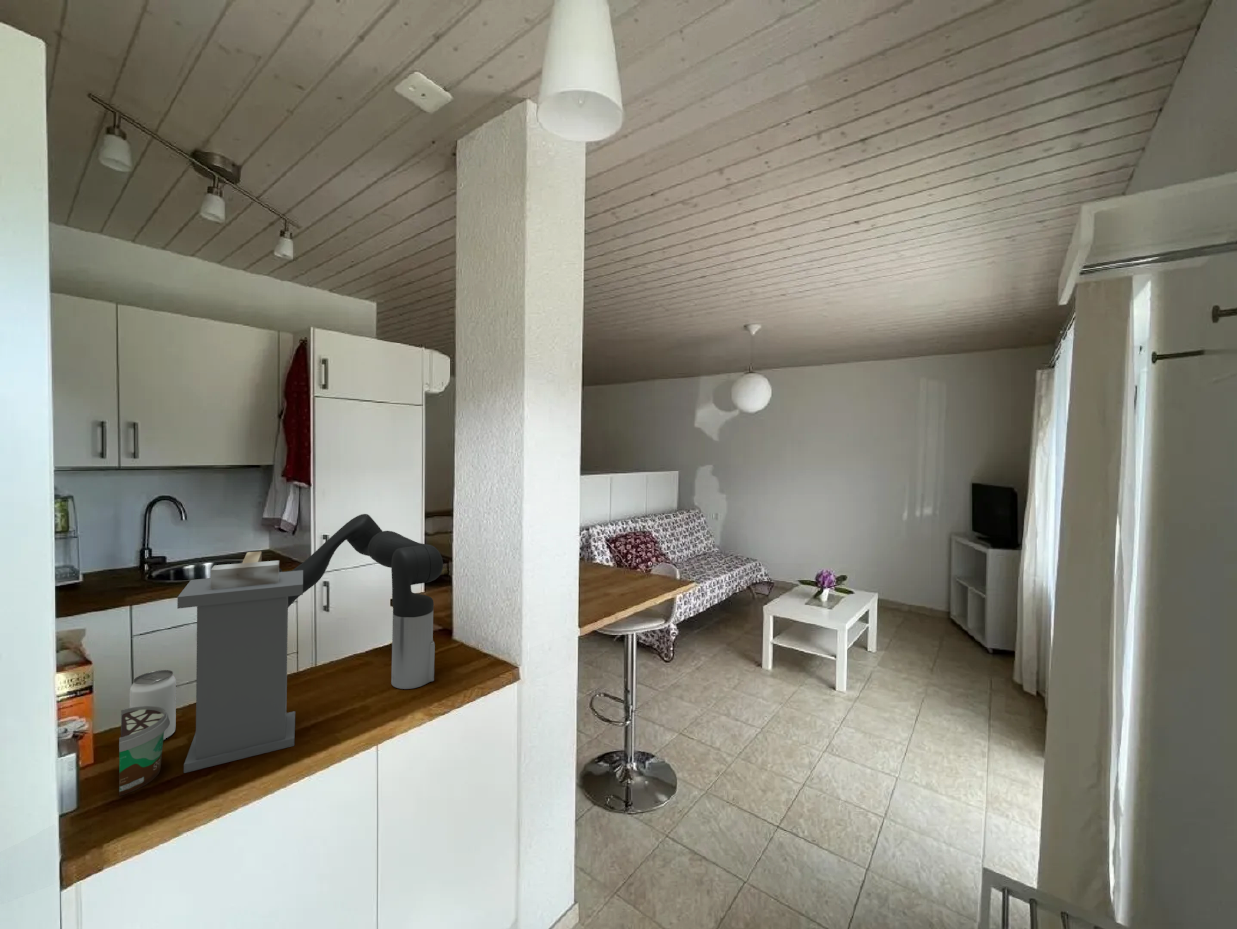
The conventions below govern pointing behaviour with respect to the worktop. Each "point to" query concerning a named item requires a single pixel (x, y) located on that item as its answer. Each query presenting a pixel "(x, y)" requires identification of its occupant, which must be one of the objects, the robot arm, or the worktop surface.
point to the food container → (140, 746)
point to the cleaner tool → (245, 572)
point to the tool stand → (240, 669)
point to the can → (156, 694)
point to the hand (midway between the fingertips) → (252, 572)
